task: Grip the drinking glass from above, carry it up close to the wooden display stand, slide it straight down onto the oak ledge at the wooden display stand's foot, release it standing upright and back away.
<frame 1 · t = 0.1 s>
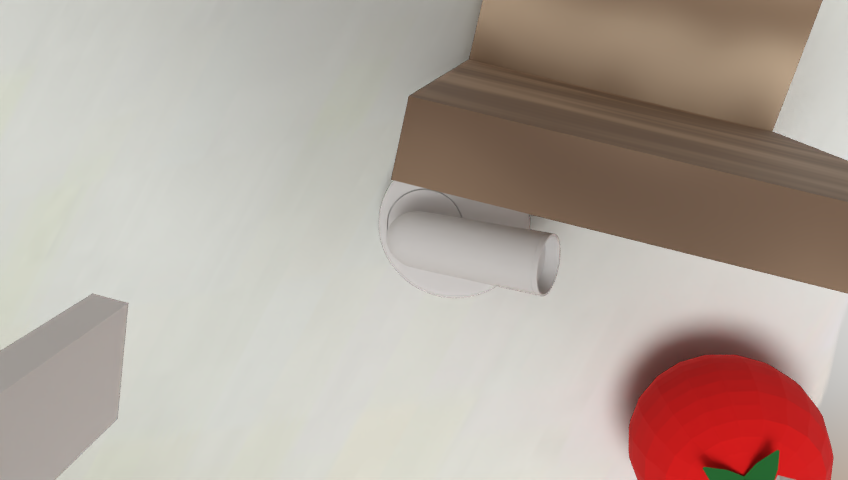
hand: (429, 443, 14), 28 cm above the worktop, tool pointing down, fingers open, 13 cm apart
wall hook: (468, 215, 41), on the worktop
tomato: (702, 401, 43), on the worktop
wooden display stand: (606, 108, 38), on the worktop
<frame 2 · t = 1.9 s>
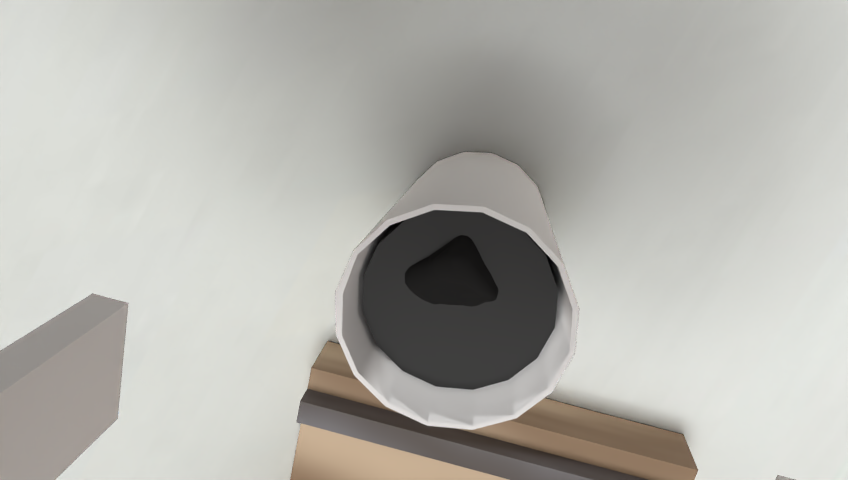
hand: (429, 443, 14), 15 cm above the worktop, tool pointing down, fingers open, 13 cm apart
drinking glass: (474, 219, 28), on the worktop
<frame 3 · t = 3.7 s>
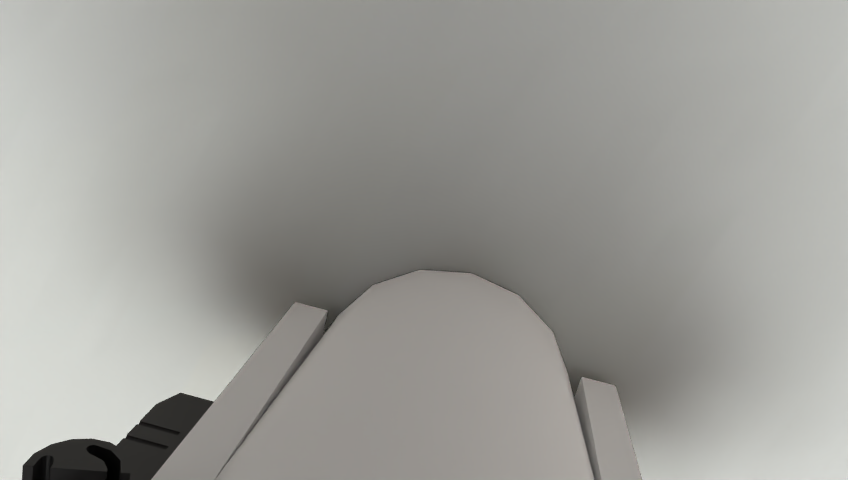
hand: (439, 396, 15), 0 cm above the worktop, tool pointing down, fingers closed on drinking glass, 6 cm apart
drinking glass: (442, 383, 16), on the worktop, touching gripper
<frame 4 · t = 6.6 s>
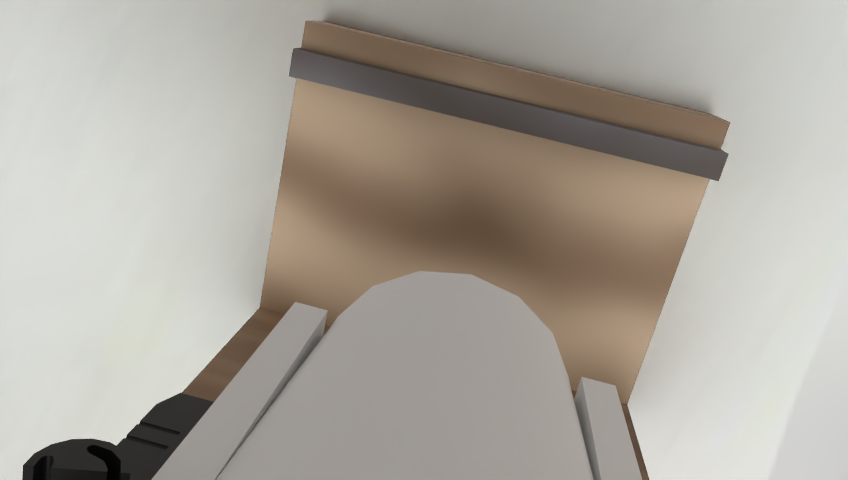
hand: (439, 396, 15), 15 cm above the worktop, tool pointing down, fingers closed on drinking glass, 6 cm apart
wooden display stand: (441, 349, 32), on the worktop
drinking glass: (441, 384, 16), point 14 cm above the worktop, touching gripper
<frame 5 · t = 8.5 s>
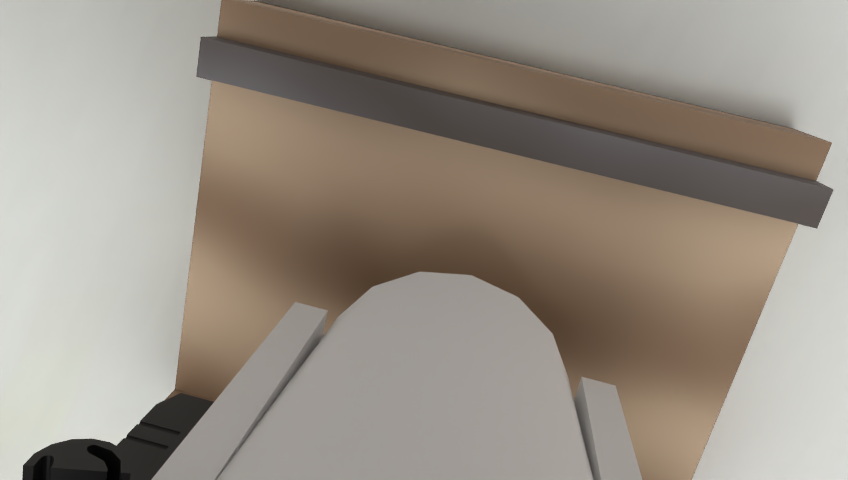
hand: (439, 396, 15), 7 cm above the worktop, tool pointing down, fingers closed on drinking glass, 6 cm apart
wooden display stand: (422, 436, 24), on the worktop
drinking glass: (441, 385, 16), point 7 cm above the worktop, touching gripper
when the fingers open (4 cm above the worktop, at t = 9.6 s): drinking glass drops 1 cm, resting on wooden display stand.
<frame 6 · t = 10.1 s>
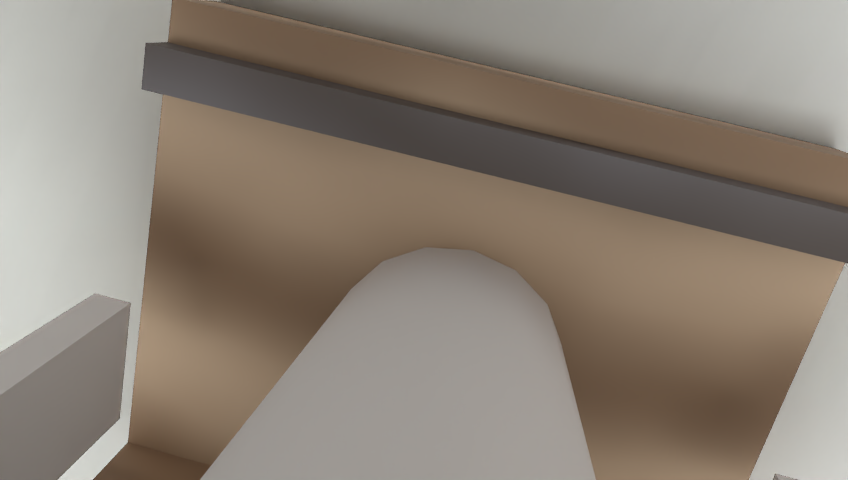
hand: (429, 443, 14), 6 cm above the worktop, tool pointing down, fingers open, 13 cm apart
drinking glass: (445, 353, 17), point 2 cm above the worktop, touching wooden display stand
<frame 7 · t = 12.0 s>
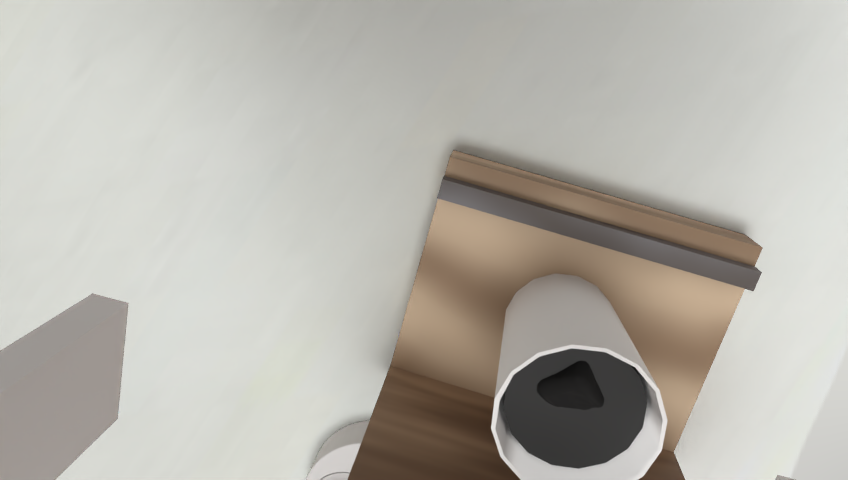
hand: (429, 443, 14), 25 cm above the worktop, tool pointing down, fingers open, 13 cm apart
wooden display stand: (524, 402, 40), on the worktop
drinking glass: (558, 324, 36), point 2 cm above the worktop, touching wooden display stand
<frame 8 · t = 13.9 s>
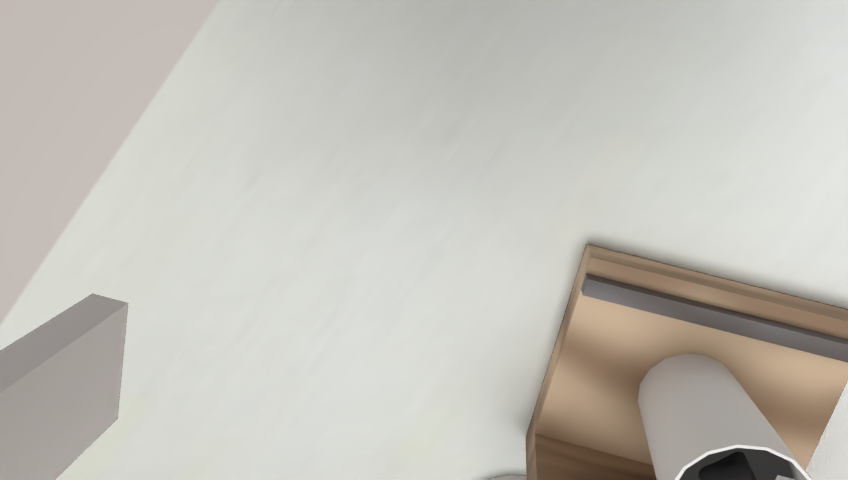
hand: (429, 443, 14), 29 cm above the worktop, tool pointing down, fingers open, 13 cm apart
wooden display stand: (648, 456, 45), on the worktop
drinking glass: (686, 395, 41), point 2 cm above the worktop, touching wooden display stand
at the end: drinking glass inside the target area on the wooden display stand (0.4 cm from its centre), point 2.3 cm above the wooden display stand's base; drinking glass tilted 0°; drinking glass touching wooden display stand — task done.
